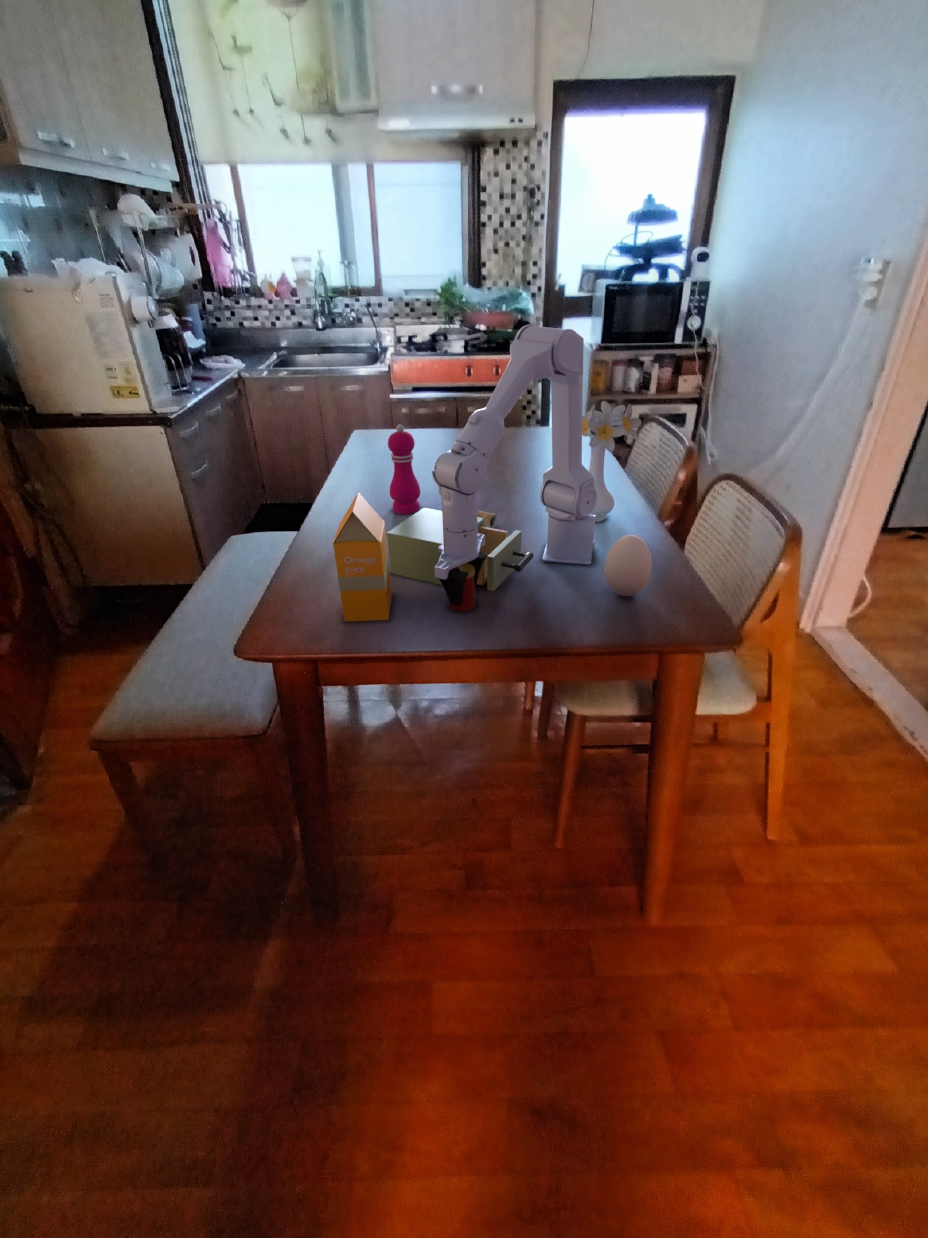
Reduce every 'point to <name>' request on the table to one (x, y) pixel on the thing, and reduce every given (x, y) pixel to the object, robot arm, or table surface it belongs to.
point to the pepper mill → (403, 473)
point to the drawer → (501, 556)
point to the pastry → (488, 519)
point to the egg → (628, 565)
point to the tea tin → (467, 589)
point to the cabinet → (418, 545)
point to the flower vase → (605, 446)
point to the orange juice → (363, 563)
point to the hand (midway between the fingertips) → (462, 597)
